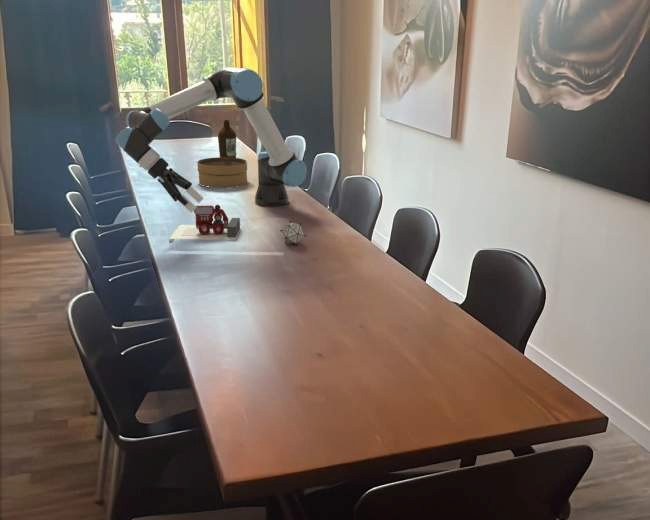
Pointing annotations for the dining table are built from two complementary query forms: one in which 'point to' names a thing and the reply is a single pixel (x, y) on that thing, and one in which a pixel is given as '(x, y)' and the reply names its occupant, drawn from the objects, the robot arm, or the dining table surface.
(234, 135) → the olive oil
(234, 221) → the grey rectangular block
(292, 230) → the geodesic ball
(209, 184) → the steamer basket
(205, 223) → the red toy car
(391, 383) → the dining table surface
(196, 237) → the mat
